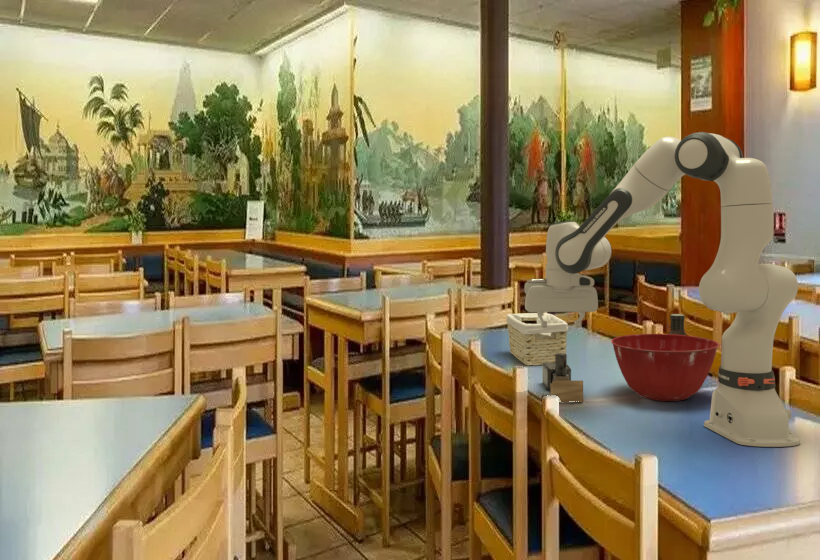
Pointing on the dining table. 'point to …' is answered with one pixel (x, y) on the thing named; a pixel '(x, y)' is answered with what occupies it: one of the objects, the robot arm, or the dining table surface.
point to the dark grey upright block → (560, 368)
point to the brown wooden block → (567, 390)
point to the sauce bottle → (677, 324)
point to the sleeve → (547, 370)
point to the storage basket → (536, 338)
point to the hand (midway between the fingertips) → (560, 327)
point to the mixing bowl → (664, 364)
